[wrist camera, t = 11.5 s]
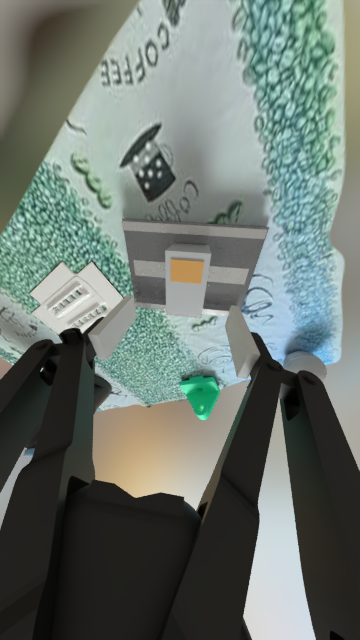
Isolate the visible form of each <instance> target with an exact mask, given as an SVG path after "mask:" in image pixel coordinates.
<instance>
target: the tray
mask: <svg viewBox="0 0 360 640" xmlns="http://www.w3.org/2000/svg"><path fill="white" fill-rule="evenodd" d="M76 290H78V291H79V292H80V293H81V295H79V294H78V293H77V292H76ZM71 294H72V295H73V296H74V297H75V298H76V299H73V298H72V297H71V296H70V295H71ZM30 295H31V296H32V297H34V298H35V299H36V300H37V301H38V302H39V303H40V304H41V305H40V306H39V307H38V308H37V309H36V310H35V311H33V312H32V314H33V315H34V316H36V317H37V318H38V319H39V320H41V321H42V322H43V323H45V324H46V325H47V326H48V327H50V328H51V329H52V330H54V331H55V332H56V333H57V334H60V333H61V332H62V331H64V330H66V329H69V328H79V329H80V330H81V332H82V333H83V332H84V331H85V330H86V329H87V328H89V327H90V326H91V325H92V324H93V323H94V322H95V321H96V320H97V319H99V318H101V317H105V316H106V315H107V314H108V313H109V312H110V311H111V310H112V309H113V308H114V307H115V306H116V305H117V304H118V303H119V302H120V301H121V300H122V299H123V297H122V296H121V295H120V294H119V293H118V292H117V291H116V289H115V288H114V287H113V286H112V285H111V284H110V282H109V281H108V280H107V279H106V278H105V277H104V275H103V274H102V273H101V272H100V271H99V270H98V269H97V267H96V266H95V265H94V264H93V263H92V262H91V263H89V264H88V265H87V266H86V267H85V268H84V269H82V270H81V271H80V272H79V273H77V274H76V273H74V272H73V271H72V270H71V269H70V268H69V267H68V266H67V265H66V264H65V263H64V262H62V263H61V264H60V265H59V266H58V267H56V268H55V269H54V270H53V271H52V272H51V273H50V274H49V275H48V276H47V277H46V278H45V279H44V280H43V281H42V282H41V283H40V284H39V285H38V286H37V287H36V288H35V289H34V290H33V291H32V292H31V293H30ZM65 299H67V300H68V301H69V302H70V303H68V302H67V301H66V300H65ZM63 300H65V301H63ZM60 303H62V304H63V305H64V306H65V307H63V306H62V305H61V304H60ZM103 305H104V306H105V307H106V308H107V310H104V309H103V308H102V307H101V306H103ZM54 307H57V308H58V309H59V310H60V311H59V310H57V309H56V308H54ZM53 308H54V309H53ZM96 309H98V310H97V312H98V313H100V314H98V313H97V312H96V311H95V310H96ZM90 313H92V314H91V315H92V316H95V317H92V316H91V315H90ZM84 317H85V318H86V319H87V320H88V319H89V320H88V321H87V320H86V319H85V318H84ZM79 320H80V321H81V322H82V323H84V324H82V323H81V322H80V321H79ZM74 323H76V324H74ZM76 325H77V326H79V327H77V326H76ZM70 326H71V327H70Z"/></svg>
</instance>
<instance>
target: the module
mask: <svg viewBox="0 0 360 640" xmlns="http://www.w3.org/2000/svg"><path fill="white" fill-rule="evenodd" d="M210 259H211V251H210V248H209V245H199V244H184V243H174V244H172V245H171V246H170V247H169V248H168V249H166V250H165V272H166V315H175V316H185V317H195V318H201V316H202V310H203V303H204V297H205V291H206V284H207V278H208V272H209V266H210Z"/></svg>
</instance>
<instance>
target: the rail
mask: <svg viewBox="0 0 360 640" xmlns="http://www.w3.org/2000/svg"><path fill="white" fill-rule="evenodd" d="M122 220H123V221H122V225H123V230H124V233H125V239H126V246H127V252H128V259H129V265H130V272H131V279H132V285H133V292H134V298H135V307H141V308H151V309H161V310H166V272H165V250H166V249H168V248H169V247H170V246H171V245H172V244H174V243H184V244H199V245H209V248H210V251H211V259H210V266H209V272H208V278H207V284H206V291H205V297H204V303H203V310H202V314H211V315H221V316H228V314H229V311H230V307H231V305H233V306H239V308H240V310H241V308H242V305H243V302H244V299H245V296H246V293H247V290H248V287H249V284H250V281H251V279H252V276H253V273H254V270H255V267H256V264H257V261H258V258H259V255H260V252H261V249H262V246H263V243H264V240H265V238H266V235H267V232H268V229H269V227H260V226H242V225H225V224H207V223H190V222H172V221H155V220H137V219H122Z"/></svg>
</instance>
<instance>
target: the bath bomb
mask: <svg viewBox="0 0 360 640" xmlns="http://www.w3.org/2000/svg"><path fill="white" fill-rule="evenodd" d="M283 368H284V369H286V370H288V371H291V372H294V373H298V372H299V371H300V370H306V371H309V372H311V373H313V374H315V375H316V376H317V377H319V378H320V379H321V381H323V380H324V379H325V377H326V374H327V373H326V372H327V371H326V367H325V365H324V363H323V362H322V361H321V360H320V359H319V358H318V357H317V356H315V355H313V354H311V353H308V352H303V351H298V352H293V353H291V354H289V355H288V356H286V358H285V359H284V362H283Z"/></svg>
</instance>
